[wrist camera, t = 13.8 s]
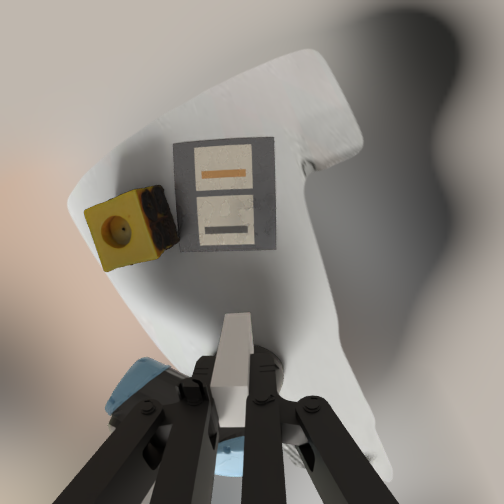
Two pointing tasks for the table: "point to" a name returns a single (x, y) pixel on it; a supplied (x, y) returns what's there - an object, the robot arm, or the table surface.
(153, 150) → the table surface
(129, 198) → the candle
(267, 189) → the label plate
